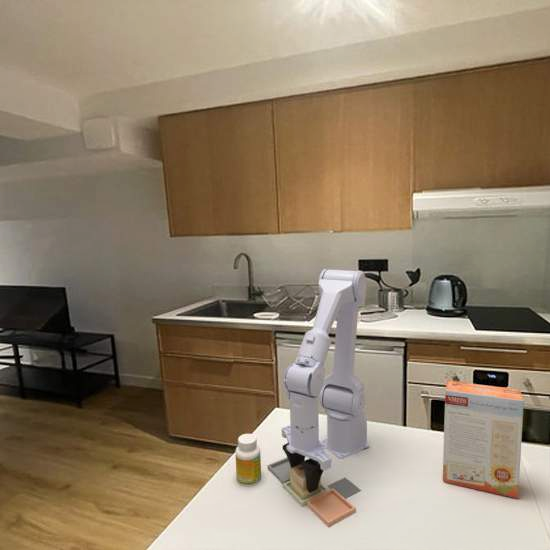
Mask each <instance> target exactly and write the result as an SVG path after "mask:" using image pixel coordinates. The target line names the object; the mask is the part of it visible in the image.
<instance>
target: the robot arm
mask: <svg viewBox="0 0 550 550" xmlns="http://www.w3.org/2000/svg"><path fill="white" fill-rule="evenodd" d="M367 286H368V282H367V278H366V275H365V273H364V272H363V270H347V269H346V270H344V269H343V270H342V269H329V268H324V269H323V270H322V271H321V272H320V274H319V276H318V293H319V296H320V299H319V303H318V306H317V310H316V314H315V318H314V322H313V325H312V329H310V330H308V331H306V332H305V333H304V335H303V338H302V341H301V344H300V347H299V349H298V352H297V355H296V357H295V359H294V363H292V364H290V365H288V367H287V368H286V369H285V373H284V376H283V388H284V390H285V391H286V398H287V400H289V418H290V419H289V420H290V423H289V424H290V425H287V426H284V427H281V437H282V438H284V439H286V441H287V443H284V444H283V445H282V451H283V452H284V454H285V456H286V458H288V460H289V463H290V466H291V468H293V467H295V466H297V465H300V464H301V465H302V467H303V469H304V472H305V476H306V484H307V489H308V491H309V492H310V493H311V492H313V491H315V490H317V489H318V486H319V482H320V479H321V478H322V475H323V473H324V471H326V470H328V469H330V468H332V457H330V456H329V455H328V453H327V452H326V450H327V451H329V452H330V453H332V454H333V455H334V456H335V457H337V458H338V459H339V460H342V459H344V458H347V457H349V456H351V455H353V454H356V453H359V452H360V451H363V450H364V449H367V448H370V444H369V443H368V438H367V437H368V422H367V417H366V414H365V413H364V407H365V404H366V402H365V401H366V397H365V385H364V382H362V381H361V380H360V379H359V378H358V376H356V375H355V373H354V367H355V356H356V343H357V333H358V332H357V331H358V319H359V318H358V317H359V316H358V315H359V309H360V308H359V307H362V306H365V304H366V299H367ZM335 320H336V327H335V329H336V330H335V340H334V355H333V364H332V365H333V367H332V373H330V374H328V375H326V376H325V369H326V368H325V367H324V365H325V362H326V359H327V356H328V353H329V350H330V348H331V344H332V341H331V338H330V336H329V334H330V332H331V330H332V327H333V325H334V323H335ZM319 404H320V406H321V408H322V409H324V413H325V414H326V415H327V416H326V424H327V425H326V428H327V432H326V434H327V435H326V436H327V437H326V439H324V440H321V441H320V439H319V438H320V436H319V435H320V434H319V431H320V430H319V426H320V425H319V419H320V417H319ZM325 449H326V450H325ZM306 458H307V459H306ZM321 480H322V479H321Z"/></svg>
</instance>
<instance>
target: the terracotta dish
mask: <svg viewBox="0 0 550 550" xmlns="http://www.w3.org/2000/svg"><path fill="white" fill-rule="evenodd" d="M305 506H307V508H308V509H309V510H311V512H313V514H315V516H317V518H318V519H319V520H320V521H322V523H323V524H325V526H327V527H328V528H329V527H332V526H333V525H335V524H336V523H339V522H340V521H342V520H344V519H346V518H347V517H349V516H351V515H353V514H355V513H356V512H357V509H356V507H355V506H354V505H353V504H352V503H351V502H350V501H348V500H347V498H346V499H345V498H344V497H343V496H341V495H340V494H339V493H338V492H337V491H336V490H334V489H333V488H332V489H330V488H329V490H328V491H326V492H324V493H322V494H320V495H318V496H316V497H314V498H312V499H310V500H308V501H306V505H305Z"/></svg>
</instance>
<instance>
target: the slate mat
mask: <svg viewBox="0 0 550 550" xmlns="http://www.w3.org/2000/svg"><path fill="white" fill-rule="evenodd" d="M326 488H328V489H329V490H330V489H332V488H333V489H334V490H336V491H337V492H338V493H339V494H340V495H341V496H343V497H344V498H345V499H346V500H347V499H348V498H351V497H352V496H354V495H356V494H357V493H360V492H361V491H362V490H361V489H360V488H359V487H358V486H357V485H355V484H354V483H353V482H351V480H349V479H348V478H346V477H343V478H341V479H339V480H336V481H335V482H333V483H331V484H328V485H327V487H326Z"/></svg>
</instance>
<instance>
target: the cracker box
mask: <svg viewBox="0 0 550 550" xmlns="http://www.w3.org/2000/svg"><path fill="white" fill-rule="evenodd" d="M445 383H446V384H445V398H444V424H443V428H444V429H443V453H442V454H443V455H442V481H443V482H444V483H448V484H452V485H456V486H460V487H465V488H470V489H475V490H479V491H483V492H488V493H491V494H497V495H501V496H506V497H509V498H514V499H518V498H519V490H520V473H521V472H520V471H521V456H522V455H521V453H522V437H523V420H524V406H525V405H524V404H525V403H524V402H525V400H524V398H523V394H522V393H521V390H520V389H519V388H518V389H517V388H512V387H511V388H509V387H501V386H495V385H486V384H477V383H471V382H464V381H463V382H462V381H457V380H456V381H454V380H449V379H448V380H446V382H445Z"/></svg>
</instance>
